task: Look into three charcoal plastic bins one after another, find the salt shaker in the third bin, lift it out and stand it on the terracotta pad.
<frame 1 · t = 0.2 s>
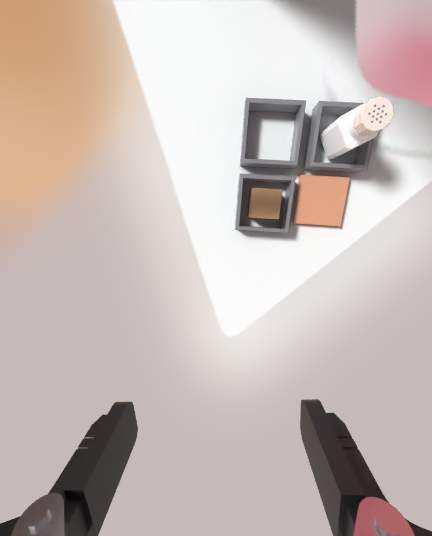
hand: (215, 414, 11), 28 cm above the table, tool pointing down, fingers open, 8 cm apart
terracotta pad: (319, 201, 35), on the table
salt shaker: (334, 142, 33), resting in shaker bin
empty bin: (269, 138, 33), on the table
bin with cube: (262, 204, 35), on the table
shaker bin: (335, 141, 33), on the table
walnut cube: (261, 204, 35), resting in bin with cube
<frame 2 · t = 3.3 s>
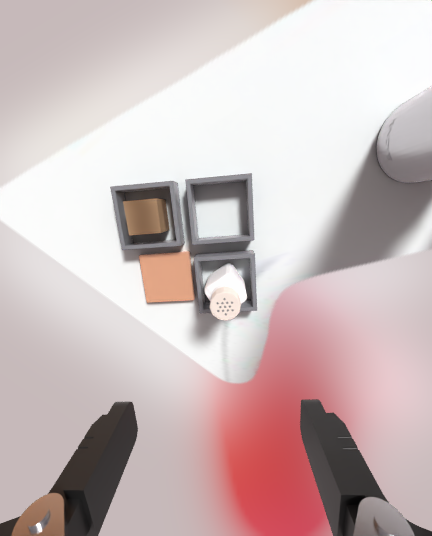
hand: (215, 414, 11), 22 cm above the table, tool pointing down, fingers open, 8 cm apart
terracotta pad: (168, 276, 33), on the table
salt shaker: (226, 278, 33), resting in shaker bin
empty bin: (221, 210, 30), on the table
bin with cube: (152, 216, 31), on the table
shaker bin: (226, 279, 32), on the table
walnut cube: (153, 216, 31), resting in bin with cube
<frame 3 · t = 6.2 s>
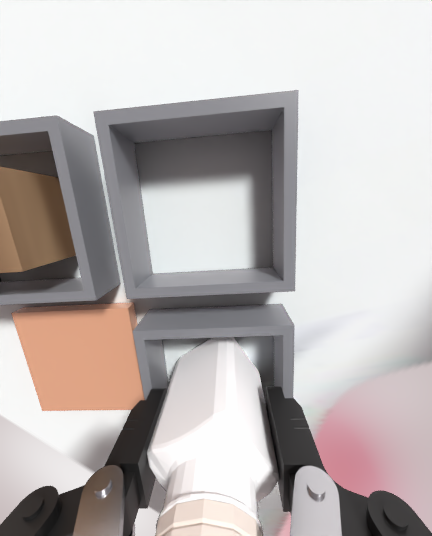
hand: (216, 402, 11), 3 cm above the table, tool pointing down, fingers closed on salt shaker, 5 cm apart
terracotta pad: (89, 355, 15), on the table
salt shaker: (218, 361, 14), resting in shaker bin, touching gripper
empty bin: (206, 208, 12), on the table
bin with cube: (40, 220, 13), on the table
shaker bin: (218, 364, 14), on the table
walnut cube: (41, 220, 13), resting in bin with cube
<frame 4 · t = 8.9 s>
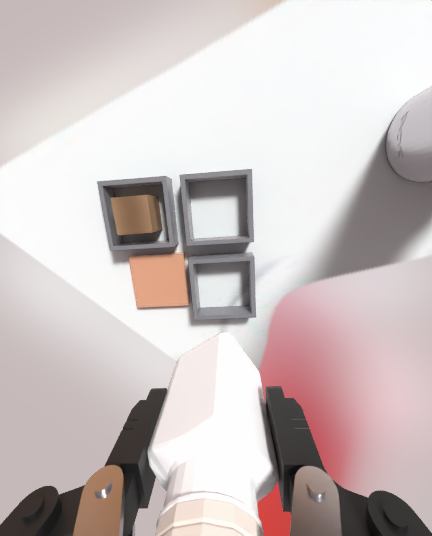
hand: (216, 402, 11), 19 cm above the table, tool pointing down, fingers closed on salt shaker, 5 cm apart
terracotta pad: (161, 279, 30), on the table
salt shaker: (219, 361, 14), point 16 cm above the table, touching gripper
empty bin: (218, 209, 28), on the table
bin with cube: (144, 214, 28), on the table
shaker bin: (223, 283, 30), on the table
walnut cube: (144, 214, 28), resting in bin with cube
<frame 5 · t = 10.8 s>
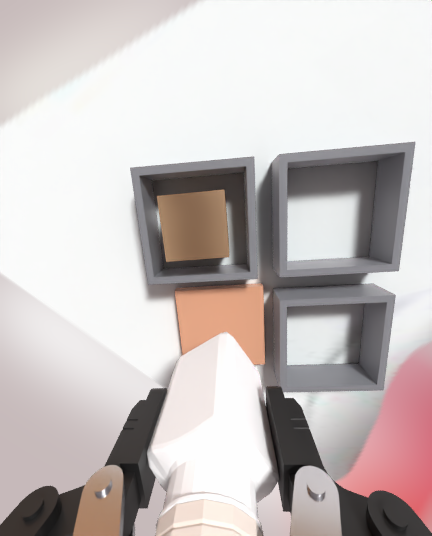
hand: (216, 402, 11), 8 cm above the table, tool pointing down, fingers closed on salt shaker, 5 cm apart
terracotta pad: (221, 324, 19), on the table
salt shaker: (218, 362, 14), point 5 cm above the table, touching gripper
empty bin: (325, 214, 17), on the table
bin with cube: (201, 223, 17), on the table
shaker bin: (320, 329, 19), on the table
walnut cube: (201, 223, 18), resting in bin with cube
when the fingers open (5 cm above the table, at t = 11.9 s): salt shaker drops 1 cm, resting on terracotta pad.
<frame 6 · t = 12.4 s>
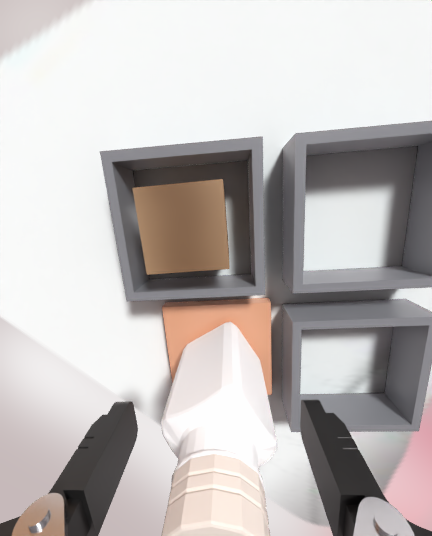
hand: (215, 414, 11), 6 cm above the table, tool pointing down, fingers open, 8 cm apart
terracotta pad: (219, 345, 16), on the table
salt shaker: (222, 350, 16), point 1 cm above the table, touching terracotta pad
empty bin: (349, 213, 13), on the table
bin with cube: (194, 224, 14), on the table
shaker bin: (339, 353, 16), on the table
walnut cube: (194, 224, 14), resting in bin with cube
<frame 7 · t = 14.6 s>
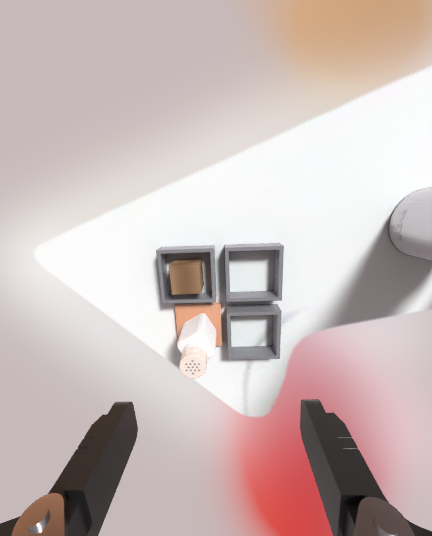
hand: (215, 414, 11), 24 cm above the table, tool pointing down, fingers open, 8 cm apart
terracotta pad: (199, 323, 36), on the table
salt shaker: (200, 325, 35), point 1 cm above the table, touching terracotta pad
empty bin: (251, 270, 34), on the table
bin with cube: (189, 272, 34), on the table
shaker bin: (251, 327, 36), on the table
walnut cube: (189, 271, 34), resting in bin with cube
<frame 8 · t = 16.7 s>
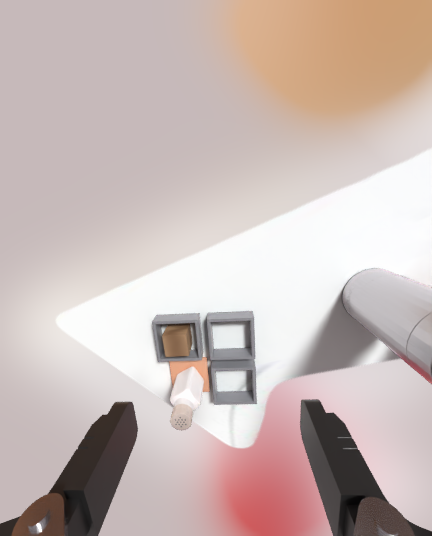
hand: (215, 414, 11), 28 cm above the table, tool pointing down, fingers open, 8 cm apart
terracotta pad: (190, 373, 43), on the table
salt shaker: (191, 375, 43), point 1 cm above the table, touching terracotta pad
empty bin: (231, 331, 41), on the table
bin with cube: (180, 333, 41), on the table
shaker bin: (233, 376, 43), on the table
walnut cube: (180, 333, 42), resting in bin with cube
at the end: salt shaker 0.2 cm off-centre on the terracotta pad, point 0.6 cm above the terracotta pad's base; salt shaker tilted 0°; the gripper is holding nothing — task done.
